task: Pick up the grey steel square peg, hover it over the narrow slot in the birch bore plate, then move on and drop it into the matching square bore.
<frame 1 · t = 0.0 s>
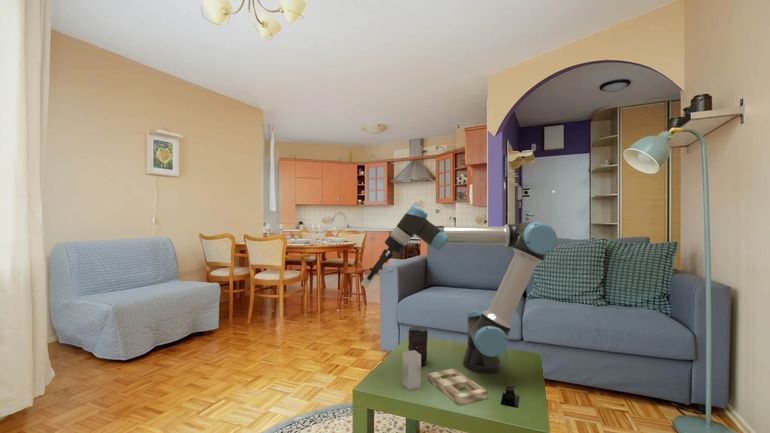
hand: (365, 283, 139), 36 cm above the table, tool tilted 35°, fingers open, 13 cm apart
camera lens: (417, 364, 149), on the table
black mounting bracket: (510, 401, 119), on the table
bore plate: (456, 388, 126), on the table
square peg: (411, 386, 128), on the table
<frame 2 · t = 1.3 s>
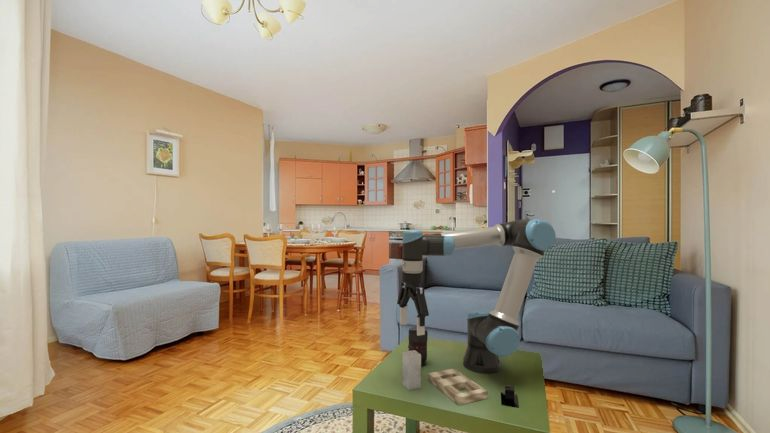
hand: (411, 329, 129), 21 cm above the table, tool pointing down, fingers open, 13 cm apart
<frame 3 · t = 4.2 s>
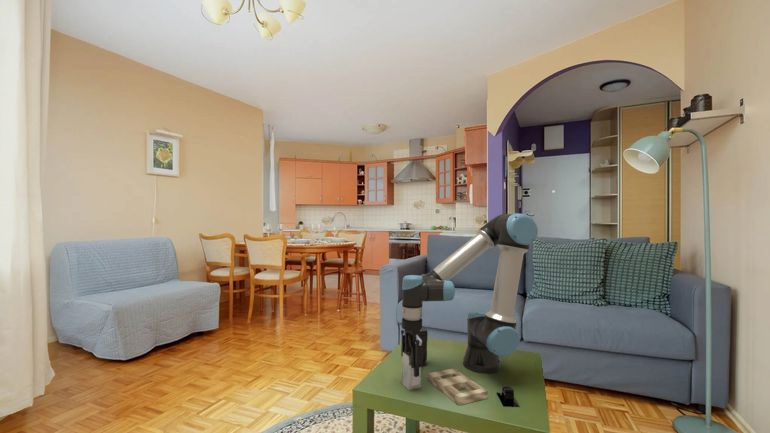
hand: (411, 381, 128), 2 cm above the table, tool pointing down, fingers closed on square peg, 5 cm apart
square peg: (411, 386, 128), on the table, touching gripper
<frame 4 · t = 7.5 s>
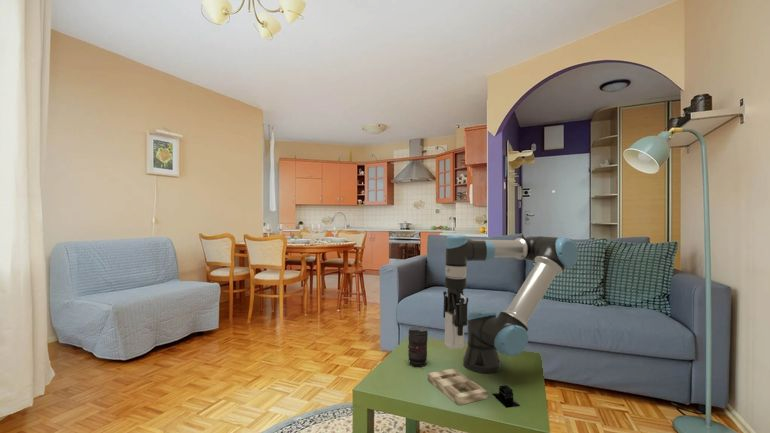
hand: (454, 341, 127), 17 cm above the table, tool pointing down, fingers closed on square peg, 5 cm apart
square peg: (454, 346, 127), point 15 cm above the table, touching gripper
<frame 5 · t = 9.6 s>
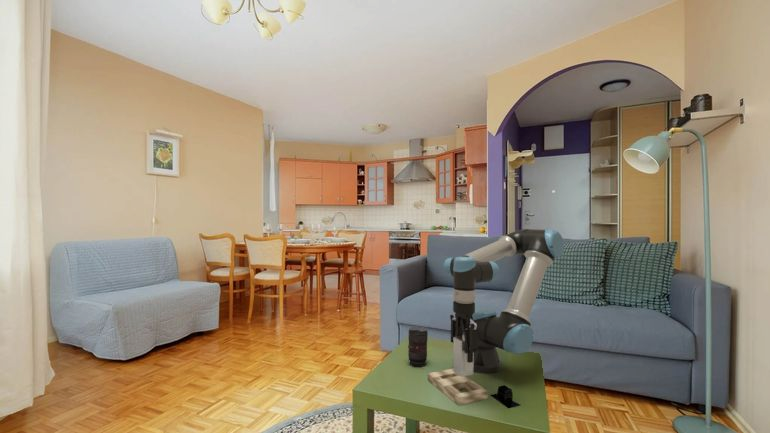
hand: (463, 367, 122), 9 cm above the table, tool pointing down, fingers closed on square peg, 5 cm apart
square peg: (463, 372, 122), point 8 cm above the table, touching gripper
when the fingers open (4 cm above the table, at t = 11.2 s): square peg drops 2 cm, resting in bore plate.
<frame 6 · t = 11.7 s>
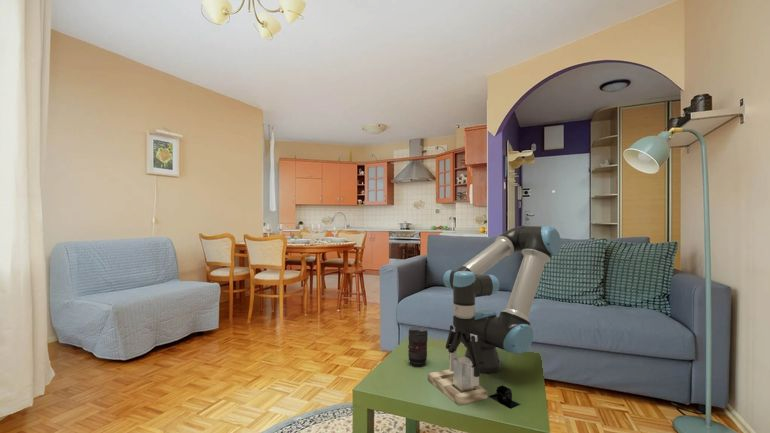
hand: (463, 377, 122), 6 cm above the table, tool pointing down, fingers open, 12 cm apart
square peg: (463, 394, 122), resting in bore plate
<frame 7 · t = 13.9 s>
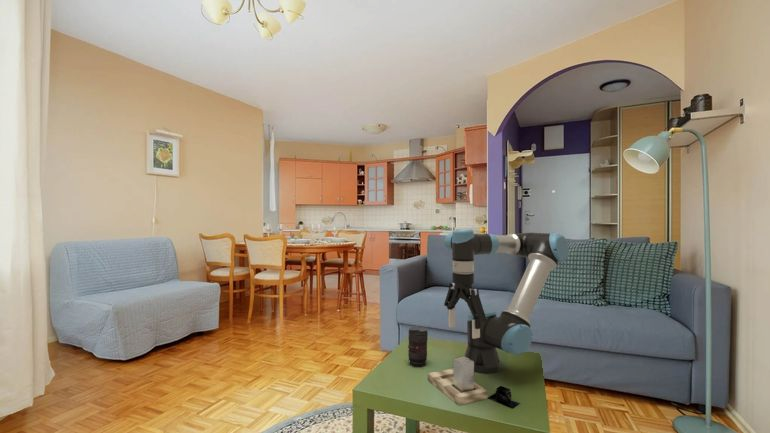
hand: (463, 332, 124), 21 cm above the table, tool pointing down, fingers open, 13 cm apart
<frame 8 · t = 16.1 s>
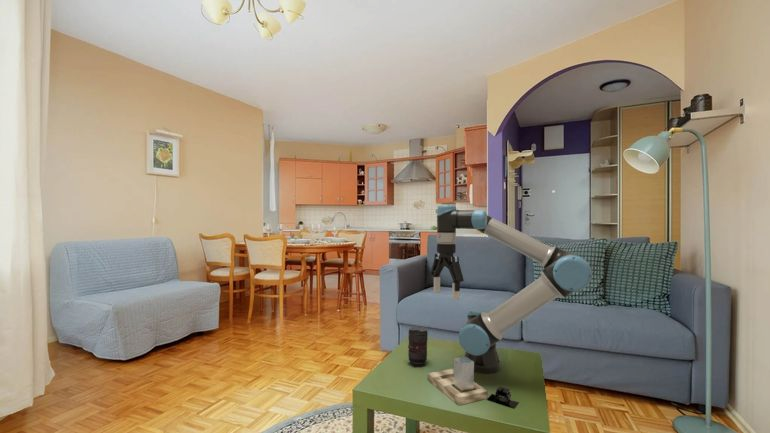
hand: (445, 296, 141), 31 cm above the table, tool pointing down, fingers open, 13 cm apart
at the end: square peg 0.0 cm from the target spot on the bore plate, point 0.0 cm above the bore plate's base; square peg tilted 0°; the gripper is holding nothing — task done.
